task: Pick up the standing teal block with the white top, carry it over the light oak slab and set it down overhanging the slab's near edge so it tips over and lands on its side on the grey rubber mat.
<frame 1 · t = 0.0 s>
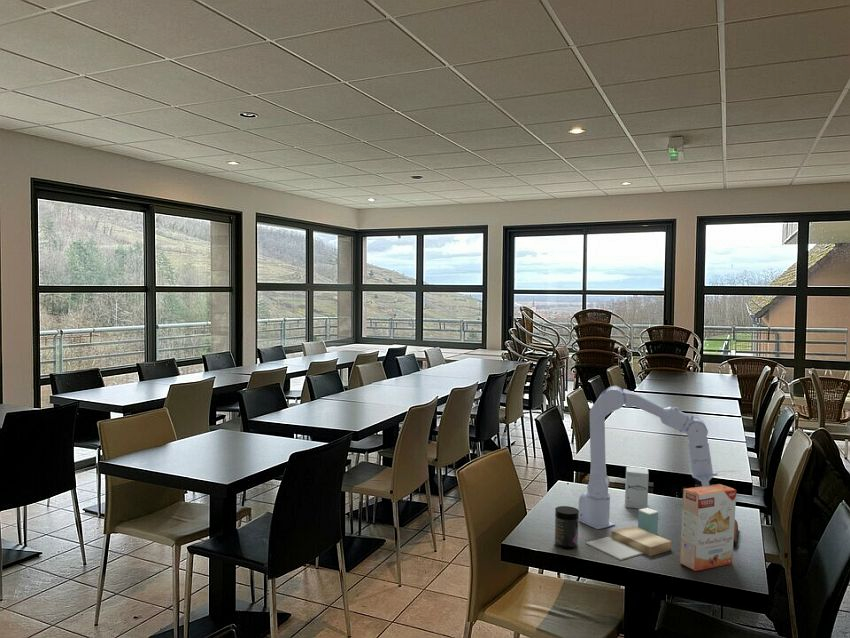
hand: (707, 503, 189), 11 cm above the table, tool pointing down, fingers open, 7 cm apart
supplement container: (566, 545, 182), on the table
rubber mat: (614, 548, 180), on the table
oak slab: (640, 544, 184), on the table
cracker box: (706, 564, 171), on the table
supplement box: (636, 506, 218), on the table
sunglasses case: (722, 538, 191), on the table
teal block: (647, 533, 193), on the table
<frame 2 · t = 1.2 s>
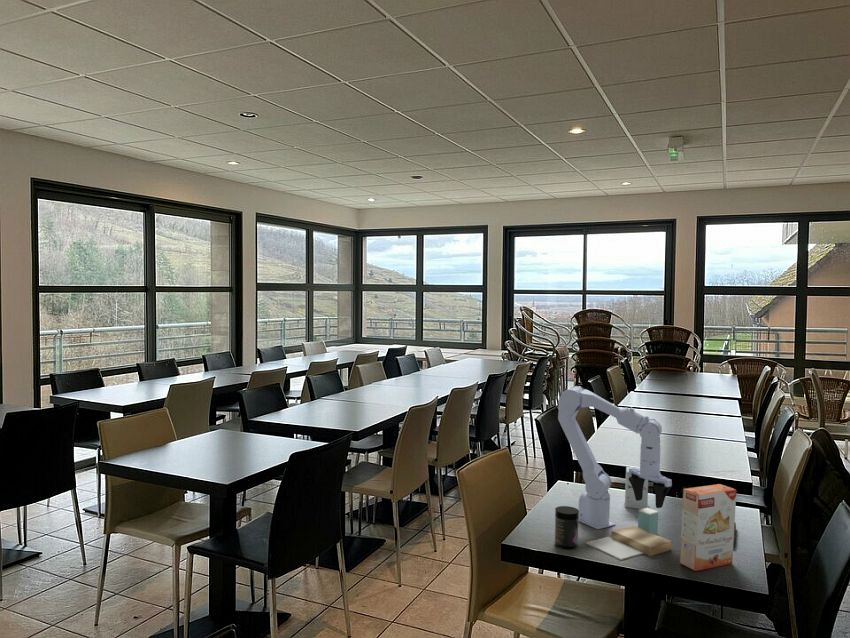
hand: (648, 503, 192), 9 cm above the table, tool pointing down, fingers open, 7 cm apart
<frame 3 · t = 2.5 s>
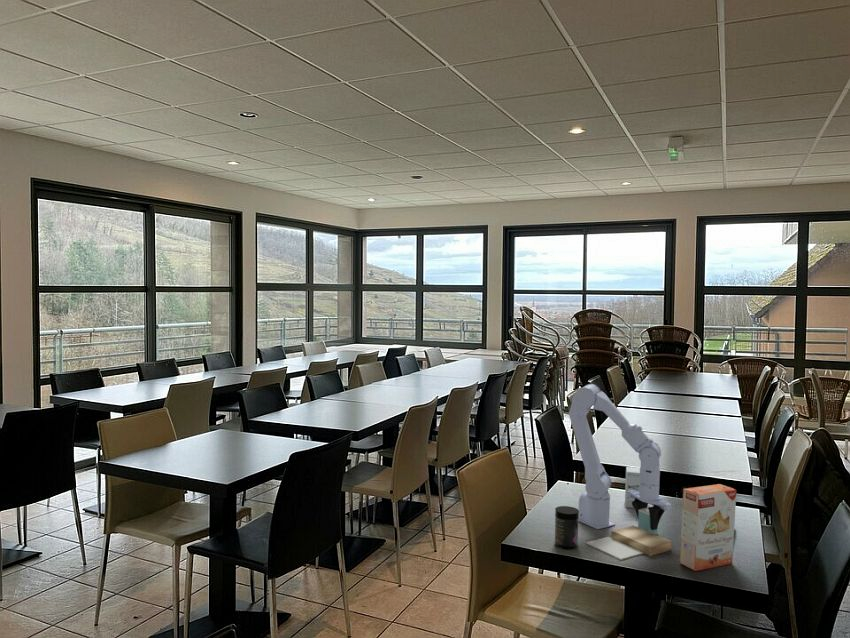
hand: (647, 526, 193), 2 cm above the table, tool pointing down, fingers closed on teal block, 4 cm apart
teal block: (647, 532, 193), on the table, touching gripper
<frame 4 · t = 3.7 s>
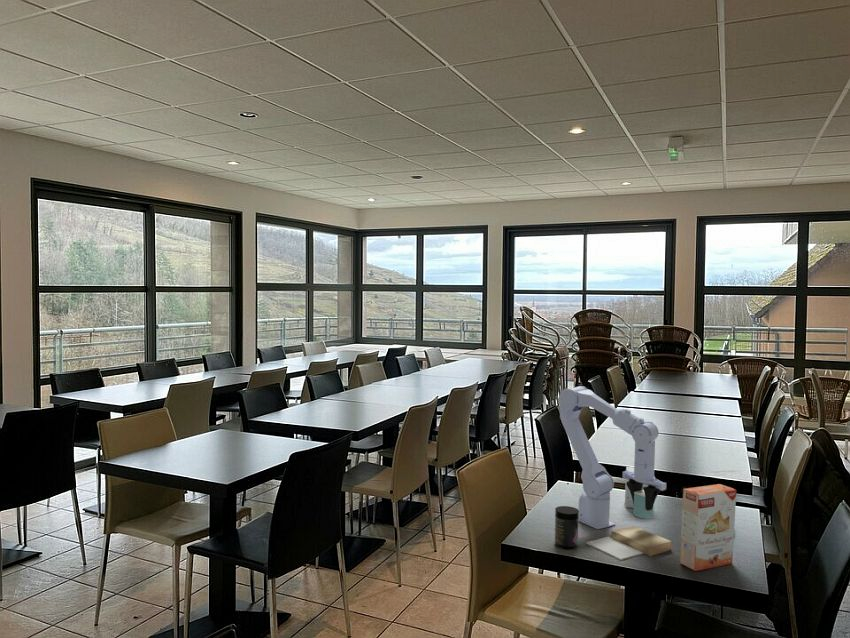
hand: (642, 507, 190), 9 cm above the table, tool pointing down, fingers closed on teal block, 4 cm apart
teal block: (643, 515, 190), point 6 cm above the table, touching gripper
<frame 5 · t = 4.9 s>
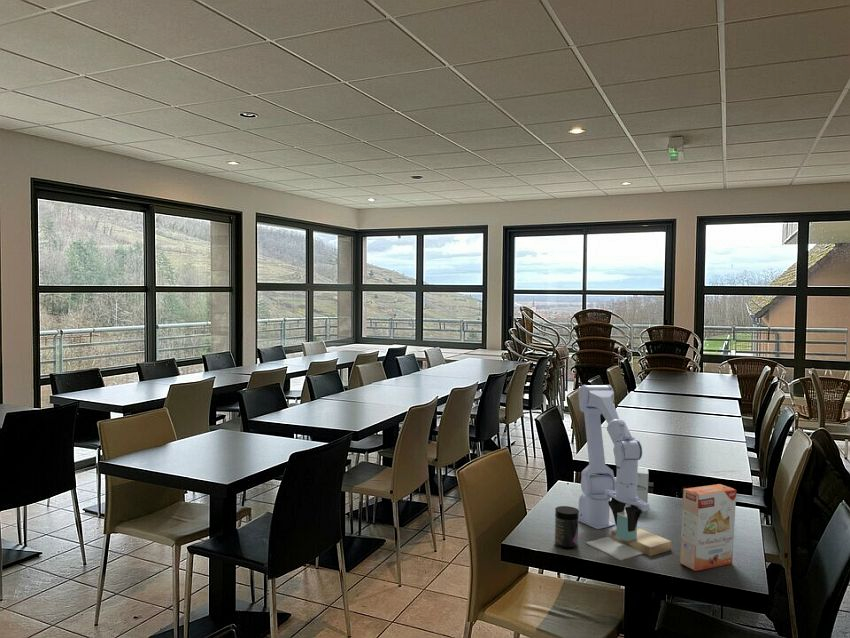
hand: (625, 528, 182), 5 cm above the table, tool pointing down, fingers closed on teal block, 4 cm apart
teal block: (626, 537, 182), point 3 cm above the table, touching gripper, oak slab
when the fingers open (5 cm above the table, at t = 5.3 s): teal block moves 1 cm and tips over, resting on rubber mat.
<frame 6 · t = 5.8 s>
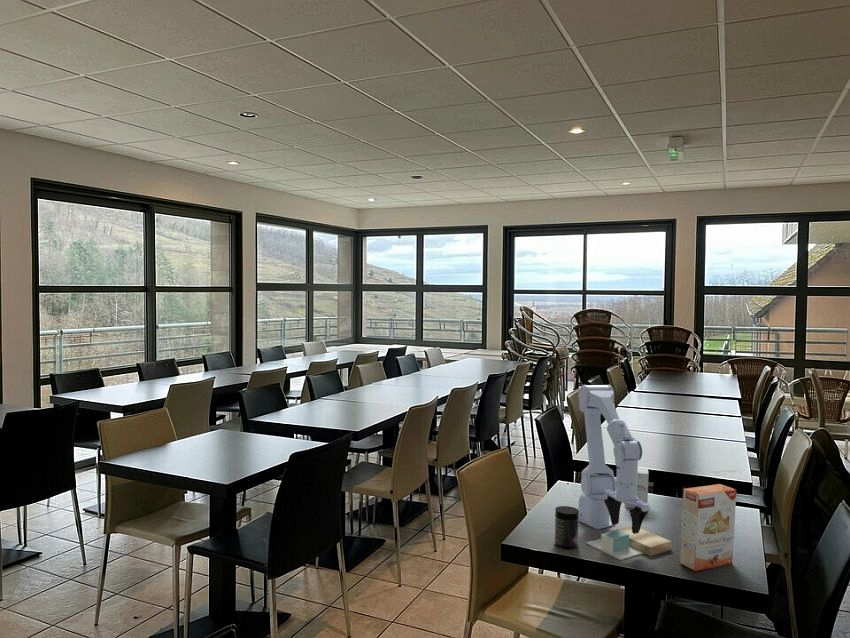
hand: (625, 528, 182), 5 cm above the table, tool pointing down, fingers open, 7 cm apart
teal block: (623, 538, 181), point 2 cm above the table, tilted 90°, touching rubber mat
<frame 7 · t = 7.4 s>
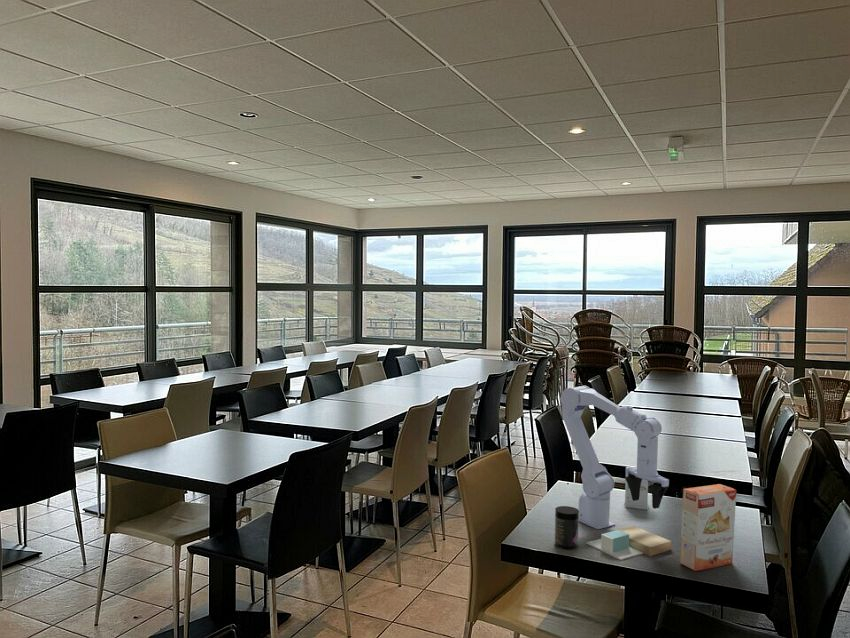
hand: (645, 503, 188), 10 cm above the table, tool pointing down, fingers open, 7 cm apart
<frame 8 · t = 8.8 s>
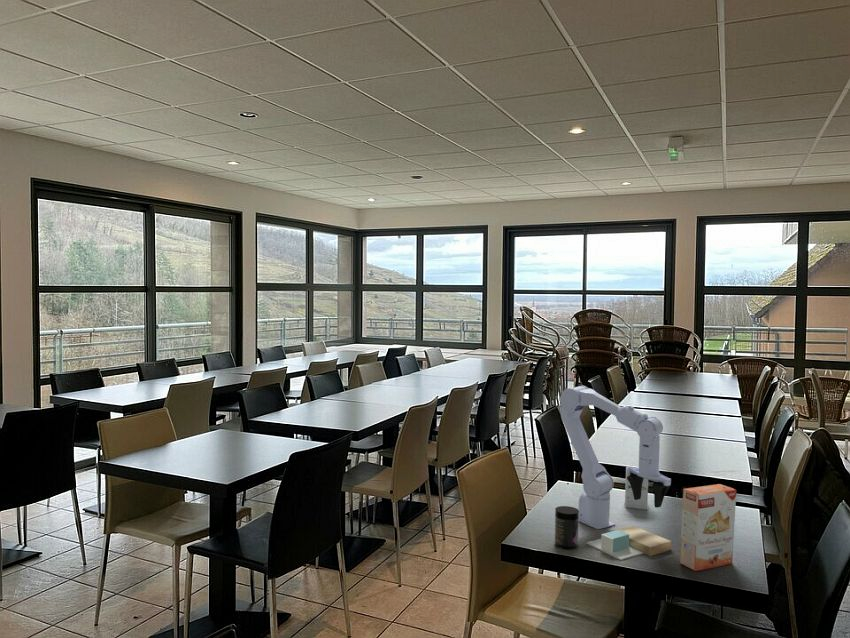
hand: (647, 503, 189), 10 cm above the table, tool pointing down, fingers open, 7 cm apart
at the end: teal block tilted 90°; teal block inside the target area (5.3 cm from its centre), point 2.4 cm above the table; the gripper is holding nothing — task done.
